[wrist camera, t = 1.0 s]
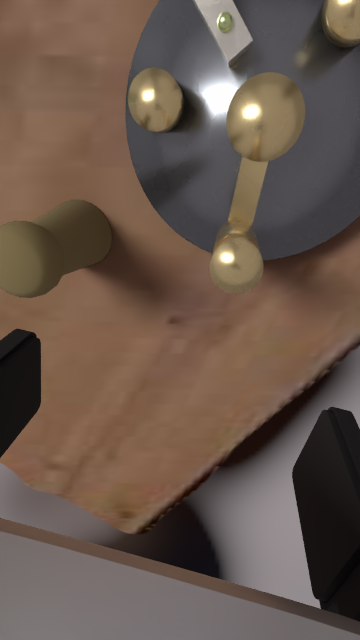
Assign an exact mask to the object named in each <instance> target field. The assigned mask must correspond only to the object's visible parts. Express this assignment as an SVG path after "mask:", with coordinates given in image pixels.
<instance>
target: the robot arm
mask: <svg viewBox="0 0 360 640" xmlns="http://www.w3.org/2000/svg"><path fill="white" fill-rule="evenodd" d="M40 403H41V342H40V339H39V338H37V337H36V334H35V333H33V332H29V331H25V330H21V329H15V330H13V331H12V332H11V333H10V334H8V335H7V336H6V337H4V338H3V339H2V340H0V458H1V456H2V455H3V454H4V453H5V451H6V450H7V449H8V448H9V446H10V445H11V444H12V443H13V441H14V440H15V439H16V437H17V436H18V435H19V434H20V432H21V431H22V430H23V429H24V427H25V426H26V425H27V424H28V422H29V421H30V420H31V418H32V417H33V416H34V415H35V413H36V412H37V411H38V409H39V407H40ZM292 478H293V484H294V490H295V495H296V501H297V507H298V512H299V518H300V524H301V530H302V535H303V541H304V547H305V552H306V557H307V563H308V569H309V575H310V580H311V586H312V591H313V595H314V597H315V598H316V599H319V601H320V605H321V609H319V608H316V607H313V606H309V605H306V604H303V603H299V602H296V601H293V600H289V599H286V598H283V597H280V596H276V595H273V594H269V593H266V592H262V591H258V590H255V589H252V588H248V587H245V586H241V585H238V584H234V583H231V582H227V581H224V580H220V579H217V578H213V577H210V576H206V575H203V574H199V573H196V572H192V571H189V570H185V569H182V568H178V567H174V566H171V565H168V564H164V563H160V562H157V561H153V560H150V559H146V558H143V557H139V556H136V555H132V554H129V553H125V552H121V551H118V550H114V549H111V548H107V547H103V546H100V545H96V544H93V543H89V542H85V541H82V540H78V539H75V538H71V537H67V536H64V535H60V534H57V533H53V532H49V531H46V530H42V529H38V528H35V527H31V526H27V525H24V524H20V523H16V522H12V521H9V520H5V519H2V518H0V640H360V429H359V427H358V424H357V422H356V420H355V418H354V416H353V414H352V412H350V411H347V410H343V409H339V408H335V407H330V408H329V409H328V410H323V411H322V413H321V414H320V416H319V418H318V420H317V422H316V424H315V426H314V428H313V430H312V432H311V434H310V436H309V438H308V440H307V442H306V443H305V446H304V448H303V449H302V451H301V453H300V455H299V457H298V459H297V461H296V463H295V465H294V467H293V472H292Z"/></svg>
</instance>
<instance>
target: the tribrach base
mask: <svg viewBox="0 0 360 640" xmlns="http://www.w3.org/2000/svg"><path fill="white" fill-rule="evenodd" d="M267 72H274V73H279V74H283V75H285V76H287V77H288V78H290V79H291V80H292V81H293V82H295V84H296V85H297V86H298V88H299V89H300V91H301V93H302V96H303V99H304V103H305V120H304V125H303V128H302V131H301V133H300V135H299V137H298V139H297V140H296V142H295V143H294V145H293V146H292V147H291V148H290V149H289V150H288V151H287V152H286V153H284V154H283V155H281V156H280V157H278V158H276V159H273V160H270V161H268V165H267V169H266V173H265V177H264V180H263V184H262V188H261V192H260V196H259V200H258V204H257V208H256V212H255V216H254V220H253V224H252V227H253V228H254V230H255V233H256V237H257V241H258V245H259V249H260V253H261V256H262V260H272V259H279V258H283V257H288V256H292V255H295V254H298V253H301V252H304V251H306V250H309V249H311V248H313V247H315V246H317V245H319V244H321V243H323V242H325V241H327V240H329V239H330V238H332V237H333V236H335V235H336V234H338V233H339V232H341V231H342V230H344V229H345V228H346V227H347V226H349V225H350V224H351V223H352V222H353V221H355V220H356V219H357V218H358V217H359V216H360V0H160V1H159V2H158V4H157V5H156V7H155V8H154V10H153V11H152V13H151V15H150V17H149V20H148V22H147V24H146V26H145V28H144V30H143V32H142V34H141V37H140V40H139V42H138V45H137V48H136V51H135V54H134V57H133V61H132V65H131V70H130V74H129V79H128V87H127V95H126V129H127V140H128V145H129V150H130V155H131V159H132V162H133V165H134V168H135V172H136V175H137V177H138V179H139V182H140V184H141V186H142V188H143V190H144V192H145V194H146V196H147V197H148V199H149V201H150V202H151V204H152V206H153V207H154V208H155V210H156V211H157V212H158V213H159V215H160V216H161V217H162V219H163V220H164V221H165V222H166V223H167V224H168V225H169V226H170V227H171V228H172V229H173V230H174V231H175V232H177V233H178V234H179V235H181V236H182V237H183V238H185V239H186V240H187V241H189V242H191V243H192V244H194V245H196V246H198V247H199V248H201V249H204V250H206V251H208V252H211V253H213V249H214V245H215V241H216V237H217V234H218V231H219V229H220V227H221V226H222V225H223V224H224V223H225V222H227V221H228V219H229V214H230V209H231V205H232V200H233V196H234V191H235V187H236V182H237V178H238V173H239V169H240V164H241V160H242V156H241V155H240V154H239V153H238V152H237V151H236V150H235V149H234V148H233V146H232V144H231V142H230V140H229V137H228V133H227V127H226V118H227V111H228V107H229V105H230V102H231V100H232V98H233V96H234V94H235V93H236V91H237V90H238V89H239V88H240V86H241V85H242V84H243V83H245V82H246V81H247V80H248V79H250V78H252V77H254V76H256V75H258V74H261V73H267Z"/></svg>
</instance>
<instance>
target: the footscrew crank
mask: <svg viewBox="0 0 360 640" xmlns="http://www.w3.org/2000/svg"><path fill="white" fill-rule="evenodd" d="M304 120H305V103H304V99H303V96H302V93H301V91H300V89H299V88H298V86H297V85H296V84H295V82H293V81H292V80H291V79H290V78H288V77H287V76H285V75H283V74H279V73H274V72H267V73H261V74H258V75H256V76H254V77H252V78H250V79H248V80H247V81H246V82H245V83H243V84H242V85H241V86H240V88H239V89H238V90H237V91H236V93H235V94H234V96H233V98H232V100H231V102H230V105H229V107H228V111H227V118H226V127H227V133H228V137H229V140H230V142H231V144H232V146H233V148H234V149H235V150H236V151H237V152H238V153H239V154H240V155H241V156H242V160H241V164H240V169H239V173H238V178H237V182H236V187H235V191H234V196H233V200H232V205H231V209H230V214H229V219H228V221H227V222H225V223H224V224H223V225H222V226H221V227H220V229H219V231H218V234H217V237H216V241H215V245H214V249H213V253H212V257H211V261H210V267H209V271H210V276H211V278H212V280H213V282H214V283H215V285H216V286H217V287H218V288H220V289H221V290H223V291H225V292H228V293H232V294H239V293H244V292H247V291H249V290H251V289H252V288H253V287H255V286H256V285H257V284H258V282H259V281H260V279H261V277H262V274H263V260H262V256H261V253H260V249H259V245H258V241H257V237H256V233H255V230H254V228H253V227H252V224H253V220H254V216H255V212H256V208H257V204H258V200H259V196H260V192H261V188H262V184H263V180H264V177H265V173H266V169H267V165H268V161H270V160H273V159H276V158H278V157H280V156H281V155H283V154H284V153H286V152H287V151H288V150H289V149H290V148H291V147H292V146H293V145H294V143H295V142H296V140H297V139H298V137H299V135H300V133H301V131H302V128H303V125H304Z"/></svg>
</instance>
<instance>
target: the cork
mask: <svg viewBox="0 0 360 640" xmlns="http://www.w3.org/2000/svg"><path fill="white" fill-rule="evenodd" d="M111 243H112V231H111V227H110V225H109V222H108V219H107V218H106V217H105V215H104V214H103V213H102V211H101V210H100V209H98V208H97V207H96V206H94V205H93V204H92V203H89V202H86V201H84V200H70V201H67V202H64V203H62V204H61V205H59V206H57V207H56V208H54V209H52V210H51V211H49V212H47V213H46V214H44V215H43V216H41V217H39V218H38V219H36V220H34V221H33V222H27V221H13V222H9V223H6V224H3V225H1V226H0V288H1V289H3V290H4V291H5V292H7V293H10V294H12V295H15V296H18V297H26V298H32V297H36V296H40V295H44V294H46V293H47V292H49V291H50V290H51V289H53V288H54V287H55V286H57V284H58V282H59V281H60V279H61V277H62V276H63V275H65V274H68V273H70V272H73V271H76V270H78V269H81V268H84V267H87V266H89V265H92V264H95V263H97V262H99V261H100V260H102V259H103V258H104V257H105V256H106V255H107V253H108V252H109V250H110V247H111Z"/></svg>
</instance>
